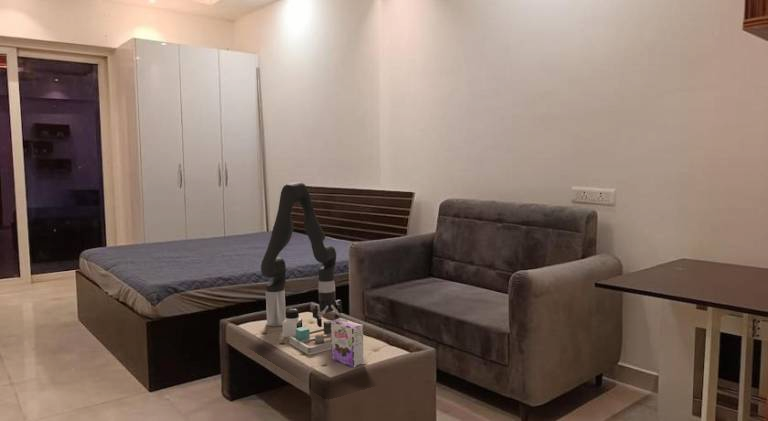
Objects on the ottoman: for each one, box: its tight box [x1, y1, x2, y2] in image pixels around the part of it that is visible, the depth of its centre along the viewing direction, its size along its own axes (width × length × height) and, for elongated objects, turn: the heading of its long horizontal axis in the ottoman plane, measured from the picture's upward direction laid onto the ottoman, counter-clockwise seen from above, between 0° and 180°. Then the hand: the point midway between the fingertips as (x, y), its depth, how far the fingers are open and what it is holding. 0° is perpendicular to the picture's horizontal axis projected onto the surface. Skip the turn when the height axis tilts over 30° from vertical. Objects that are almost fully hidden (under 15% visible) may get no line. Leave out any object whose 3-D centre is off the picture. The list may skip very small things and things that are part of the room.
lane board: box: [288, 327, 332, 356], centre depth 244 cm, size 19×20×3 cm
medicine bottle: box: [282, 308, 303, 338], centre depth 255 cm, size 7×7×12 cm
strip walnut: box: [304, 337, 331, 347], centre depth 241 cm, size 6×18×6 cm, turn 126°
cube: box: [296, 326, 311, 341], centre depth 244 cm, size 4×4×4 cm
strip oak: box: [295, 320, 332, 341], centre depth 248 cm, size 6×18×6 cm, turn 126°
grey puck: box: [315, 334, 324, 344], centre depth 239 cm, size 4×4×3 cm
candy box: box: [330, 317, 364, 369], centre depth 222 cm, size 14×6×16 cm, turn 45°
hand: (328, 324), depth 251 cm, fingers open, 8 cm apart
